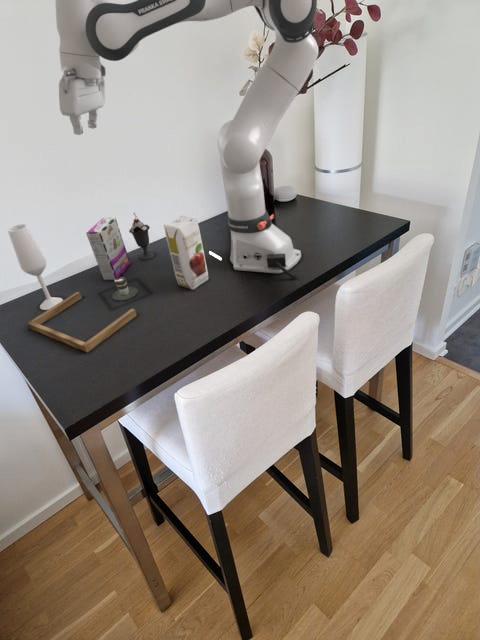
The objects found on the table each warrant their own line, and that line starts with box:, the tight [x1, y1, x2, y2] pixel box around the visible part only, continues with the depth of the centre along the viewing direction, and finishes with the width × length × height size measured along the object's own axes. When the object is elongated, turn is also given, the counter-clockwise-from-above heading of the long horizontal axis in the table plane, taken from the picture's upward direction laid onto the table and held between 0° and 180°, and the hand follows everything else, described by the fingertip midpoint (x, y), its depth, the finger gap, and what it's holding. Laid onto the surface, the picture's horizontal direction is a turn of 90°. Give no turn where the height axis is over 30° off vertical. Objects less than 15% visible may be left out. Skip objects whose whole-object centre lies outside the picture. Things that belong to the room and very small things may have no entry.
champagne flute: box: [7, 223, 64, 311], centre depth 120 cm, size 7×7×24 cm
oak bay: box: [26, 291, 138, 354], centre depth 115 cm, size 24×17×2 cm
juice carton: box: [163, 215, 209, 290], centre depth 121 cm, size 8×9×19 cm
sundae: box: [128, 212, 155, 261], centre depth 141 cm, size 7×7×15 cm
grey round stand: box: [111, 276, 139, 302], centre depth 125 cm, size 12×12×5 cm
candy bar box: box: [86, 217, 131, 281], centre depth 134 cm, size 11×5×16 cm, turn 168°
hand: (85, 131), depth 109 cm, fingers open, 8 cm apart
